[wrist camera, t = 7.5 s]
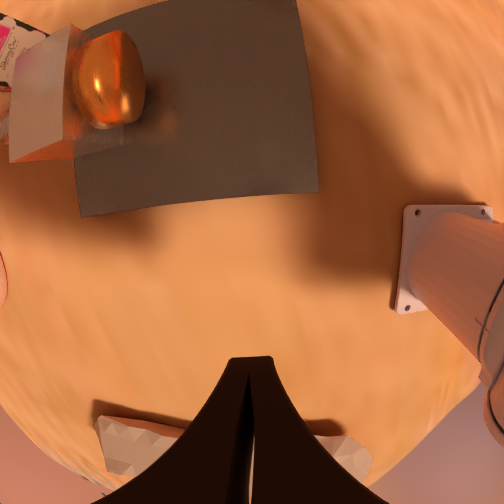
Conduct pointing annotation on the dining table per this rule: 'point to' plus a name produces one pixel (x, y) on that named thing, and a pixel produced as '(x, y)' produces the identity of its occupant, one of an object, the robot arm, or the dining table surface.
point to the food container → (163, 436)
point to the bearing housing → (179, 107)
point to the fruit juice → (2, 283)
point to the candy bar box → (14, 46)
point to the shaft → (104, 83)
